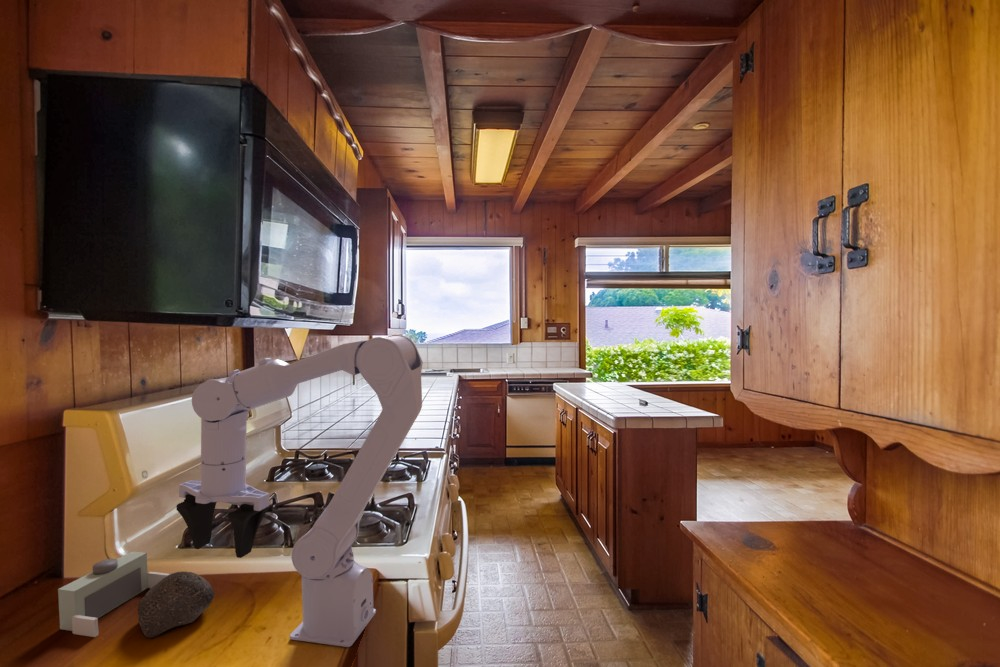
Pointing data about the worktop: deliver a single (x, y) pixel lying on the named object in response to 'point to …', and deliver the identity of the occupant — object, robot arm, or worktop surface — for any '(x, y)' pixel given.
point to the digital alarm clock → (103, 591)
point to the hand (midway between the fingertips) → (222, 550)
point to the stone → (173, 602)
